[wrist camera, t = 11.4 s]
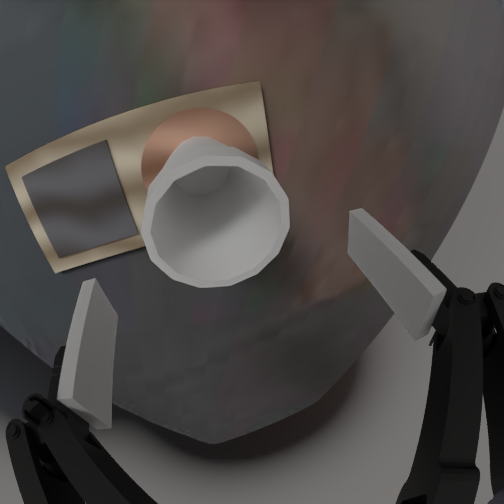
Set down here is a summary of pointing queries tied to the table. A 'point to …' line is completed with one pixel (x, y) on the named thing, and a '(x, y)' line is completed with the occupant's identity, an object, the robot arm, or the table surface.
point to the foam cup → (214, 215)
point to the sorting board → (124, 169)
